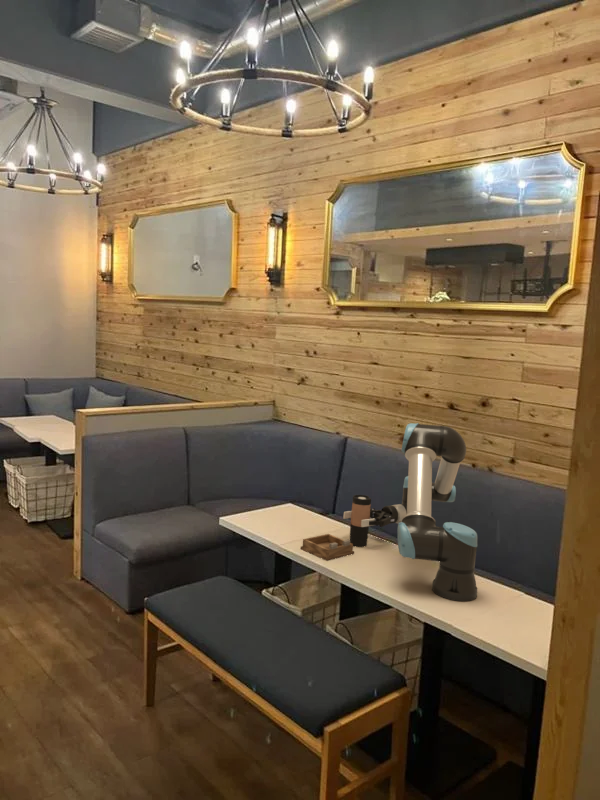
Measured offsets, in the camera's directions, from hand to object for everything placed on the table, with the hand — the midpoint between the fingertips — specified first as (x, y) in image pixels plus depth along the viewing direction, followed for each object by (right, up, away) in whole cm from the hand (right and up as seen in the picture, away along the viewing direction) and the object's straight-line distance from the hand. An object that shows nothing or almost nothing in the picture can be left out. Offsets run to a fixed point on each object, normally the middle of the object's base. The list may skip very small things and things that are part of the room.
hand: (352, 519), depth 256 cm
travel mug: (+2, -11, +3) cm, 12 cm away
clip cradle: (-11, -11, -8) cm, 17 cm away
